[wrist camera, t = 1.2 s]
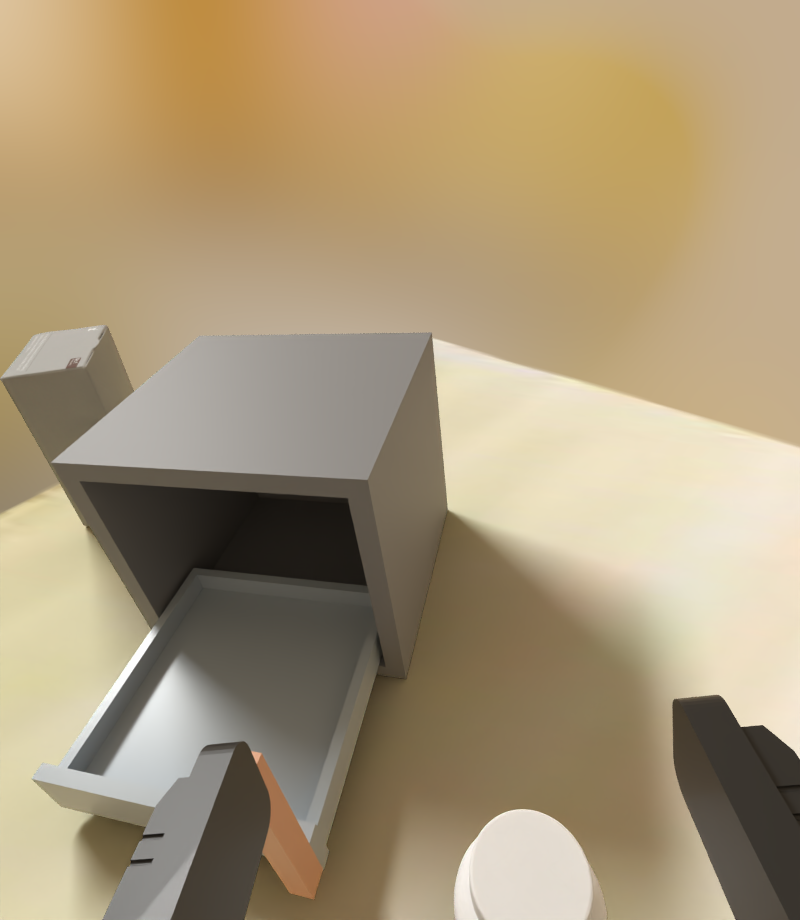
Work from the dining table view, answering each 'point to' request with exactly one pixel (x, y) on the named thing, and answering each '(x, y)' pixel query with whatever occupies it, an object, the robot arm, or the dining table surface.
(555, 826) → the supplement bottle
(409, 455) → the cabinet
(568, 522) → the dining table surface
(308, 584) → the drawer
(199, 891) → the robot arm
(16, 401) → the skincare box
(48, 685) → the dining table surface
